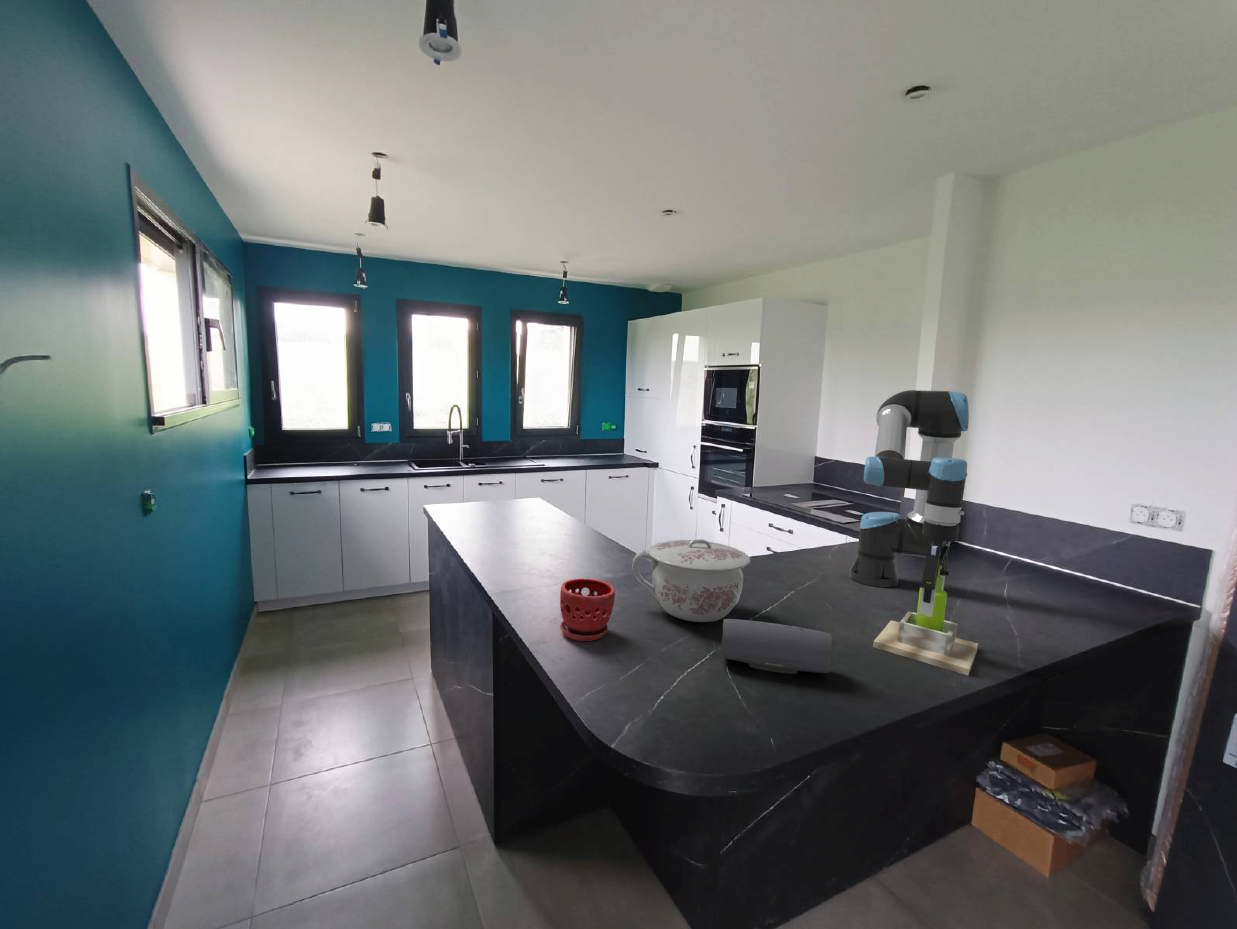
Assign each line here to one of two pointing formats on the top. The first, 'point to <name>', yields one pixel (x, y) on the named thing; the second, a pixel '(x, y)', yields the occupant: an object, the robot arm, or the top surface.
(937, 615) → the soap dispenser
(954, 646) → the dispenser caddy
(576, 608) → the plant pot
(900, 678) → the top surface
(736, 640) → the bluetooth speaker
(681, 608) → the chamber pot
